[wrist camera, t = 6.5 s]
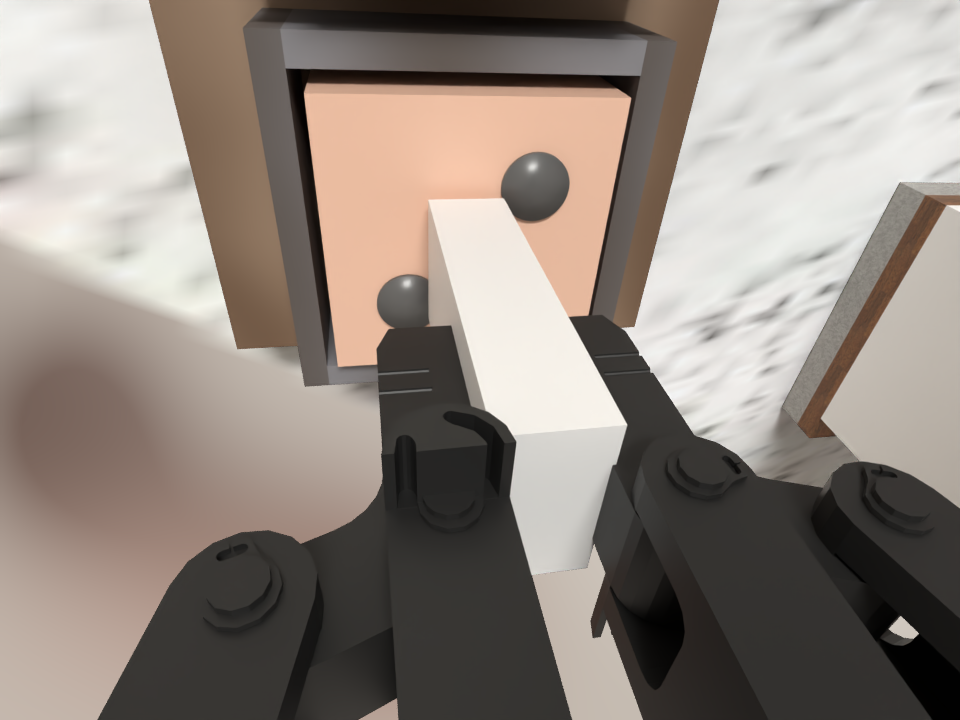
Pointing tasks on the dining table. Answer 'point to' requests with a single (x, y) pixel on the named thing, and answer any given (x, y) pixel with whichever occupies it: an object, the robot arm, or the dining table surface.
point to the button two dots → (454, 181)
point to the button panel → (402, 47)
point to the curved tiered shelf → (895, 346)
